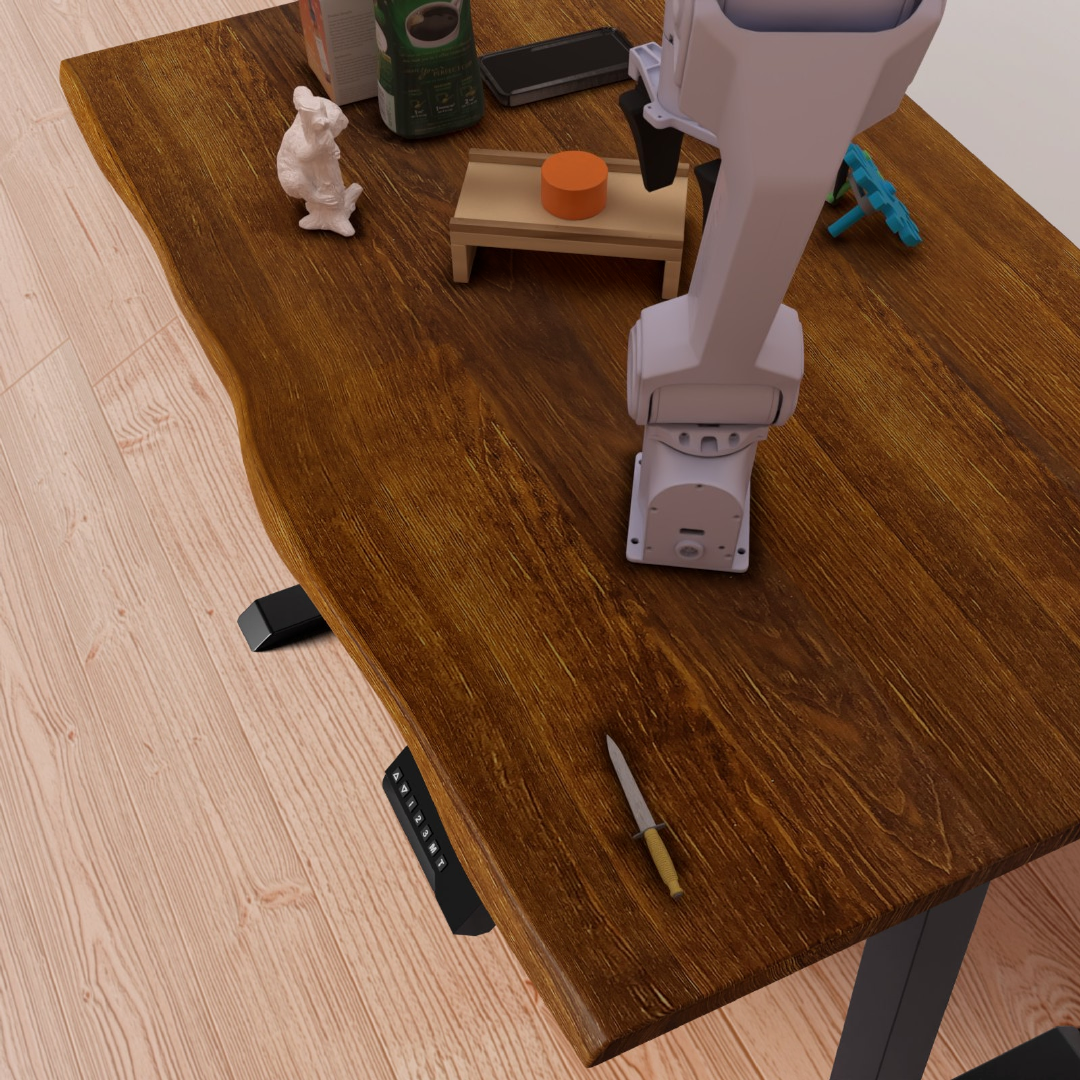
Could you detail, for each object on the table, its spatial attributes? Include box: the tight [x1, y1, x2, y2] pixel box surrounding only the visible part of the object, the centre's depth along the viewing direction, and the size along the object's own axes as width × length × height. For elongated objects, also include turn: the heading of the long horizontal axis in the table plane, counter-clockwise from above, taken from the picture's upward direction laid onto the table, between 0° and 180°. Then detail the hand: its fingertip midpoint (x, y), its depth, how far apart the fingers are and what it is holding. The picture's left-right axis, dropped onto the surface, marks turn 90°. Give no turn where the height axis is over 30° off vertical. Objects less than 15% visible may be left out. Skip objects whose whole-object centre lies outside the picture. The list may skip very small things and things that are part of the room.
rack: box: [448, 147, 690, 300], centre depth 94 cm, size 10×18×6 cm, turn 83°
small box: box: [297, 0, 378, 107], centre depth 108 cm, size 8×6×10 cm
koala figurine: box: [276, 85, 364, 237], centre depth 94 cm, size 8×7×12 cm
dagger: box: [606, 734, 684, 900], centre depth 65 cm, size 11×1×2 cm
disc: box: [541, 150, 608, 220], centre depth 91 cm, size 5×5×3 cm
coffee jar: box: [373, 0, 486, 140], centre depth 101 cm, size 10×8×19 cm
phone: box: [478, 26, 635, 107], centre depth 112 cm, size 8×1×15 cm
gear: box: [827, 141, 923, 248], centre depth 96 cm, size 11×6×10 cm
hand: (687, 214), depth 82 cm, fingers open, 7 cm apart
